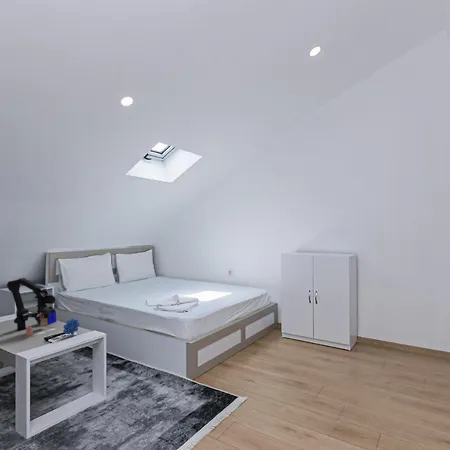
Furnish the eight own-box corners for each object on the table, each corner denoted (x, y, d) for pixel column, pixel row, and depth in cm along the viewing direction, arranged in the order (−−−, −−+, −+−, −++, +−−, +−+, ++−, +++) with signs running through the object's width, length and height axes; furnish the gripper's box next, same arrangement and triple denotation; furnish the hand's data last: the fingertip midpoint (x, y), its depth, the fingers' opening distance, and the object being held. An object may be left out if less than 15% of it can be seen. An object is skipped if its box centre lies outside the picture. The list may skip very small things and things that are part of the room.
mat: (31, 331, 270) (31, 330, 270) (46, 326, 280) (46, 326, 280) (41, 333, 264) (41, 332, 264) (55, 328, 274) (55, 328, 274)
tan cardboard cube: (37, 325, 270) (37, 319, 270) (43, 323, 274) (43, 317, 274) (41, 326, 267) (41, 319, 267) (47, 324, 272) (47, 318, 272)
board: (24, 338, 253) (24, 336, 253) (53, 329, 272) (52, 328, 272) (29, 339, 250) (29, 337, 250) (57, 330, 269) (57, 328, 269)
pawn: (25, 336, 252) (24, 326, 252) (30, 335, 256) (30, 324, 256) (28, 337, 250) (28, 327, 250) (33, 335, 254) (33, 325, 254)
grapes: (77, 331, 263) (77, 315, 263) (81, 333, 258) (80, 317, 258) (61, 335, 255) (60, 319, 255) (64, 337, 250) (63, 320, 250)
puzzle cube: (48, 325, 283) (47, 313, 283) (37, 325, 285) (37, 313, 285) (56, 322, 293) (56, 310, 293) (46, 321, 295) (45, 310, 295)
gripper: (36, 307, 259) (37, 328, 259) (59, 301, 275) (59, 321, 275) (27, 306, 264) (28, 326, 264) (50, 300, 280) (51, 320, 281)
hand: (42, 323), depth 271 cm, fingers closed on tan cardboard cube, 5 cm apart
